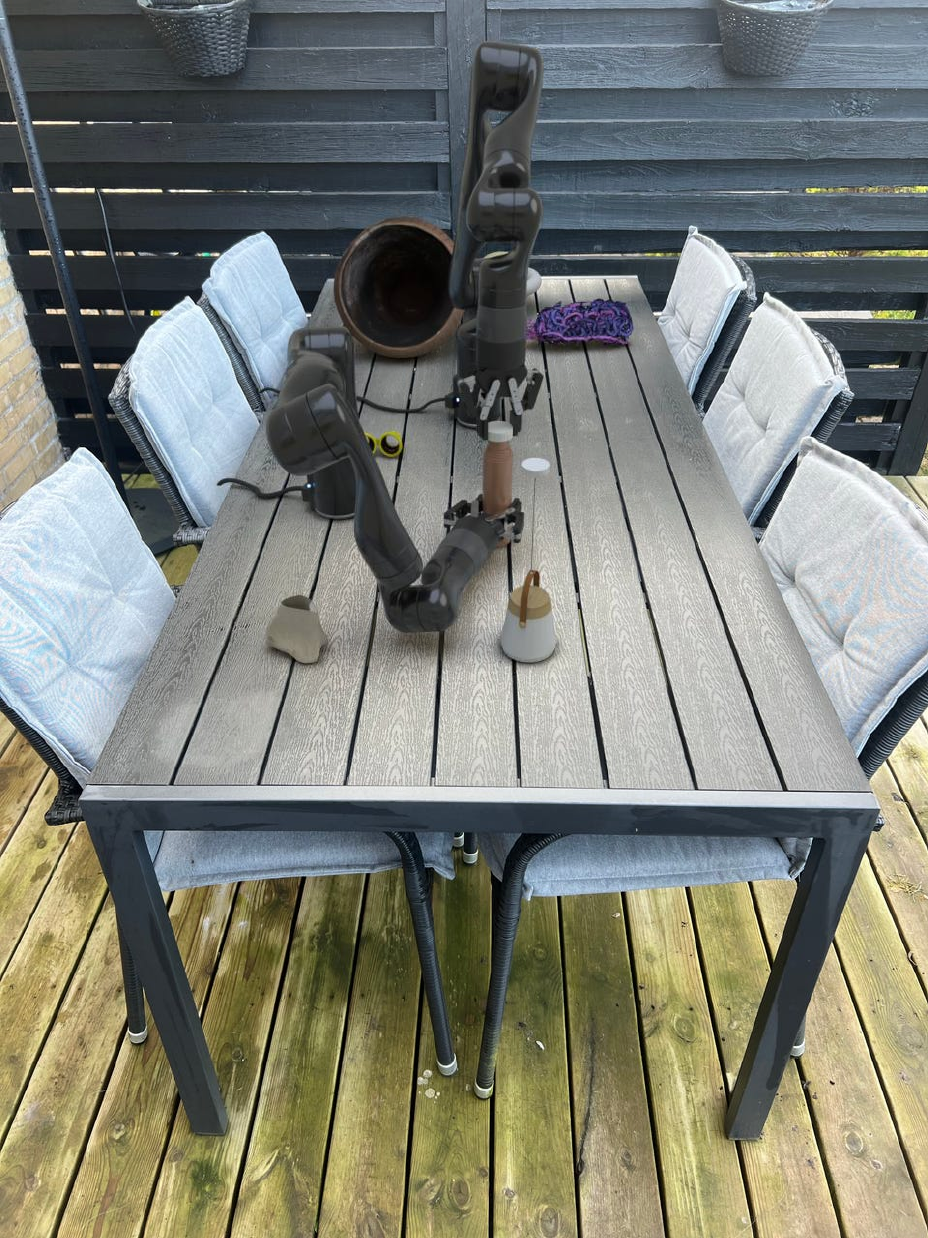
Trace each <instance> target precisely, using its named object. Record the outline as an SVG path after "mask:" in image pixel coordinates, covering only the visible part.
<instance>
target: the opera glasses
mask: <svg viewBox="0 0 928 1238" xmlns="http://www.w3.org/2000/svg"><path fill="white" fill-rule="evenodd" d="M364 434H365V436H366V438H367V440H368V443H369V445H370V448H371V450H372V452H373V455H375V453H376V452H377V450H378V449H379V451H380V452H381V453H382V455H384V456H386V457H389V458H394V457H397V456H399V455H400V453H401V452H402V451H403V450H402V449H403V442H402V436H401V434H400V433H399V432H397V431H395V430H389V431H387V432H384V433H382V434H381V435H380V436H379V438H375V436H373V435H372V434H370V433H366V432H364ZM388 436H392V437H394V438H395V439H396V440H397V442H398V443H397V444H395V445H391V444H389V443H388V439H387V437H388ZM377 448H378V449H377Z"/></svg>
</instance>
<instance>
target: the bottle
mask: <svg viewBox="0 0 928 1238" xmlns="http://www.w3.org/2000/svg"><path fill="white" fill-rule="evenodd" d="M513 475H514V452H513V449H512V446H511V445H510V440H509V441H506V442H492V441H489V440H487V444H486V446H485V447H484V450H483V453H482V483H481V484H482V485H481V486H482V487H481V489H482V490H481V491H482V492H481V494H482V512H481V513H485V514H487V515H494V514H496V513H497V512H499V511H505V510H507V509H509V506H510V505H511V503H512V502H513V477H514V476H513ZM507 519H508V518H507ZM510 527H512V525H510V526H508V527H507V530H509V528H510ZM511 540H512V538H504V539H503V540H502V541H500V542H498V543H497V545H496V547H495V548H502V547H505V546H507V545H509V543H510V542H511Z"/></svg>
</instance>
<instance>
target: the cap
mask: <svg viewBox="0 0 928 1238" xmlns="http://www.w3.org/2000/svg"><path fill="white" fill-rule="evenodd" d="M512 439H513V426H512V425H511V424H510V422H507V421H503V420H501V421H492V422H489V423H488V440H489V441H492V442H506V441H509V442H510V441H511V440H512ZM488 440H487V441H488Z"/></svg>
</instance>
